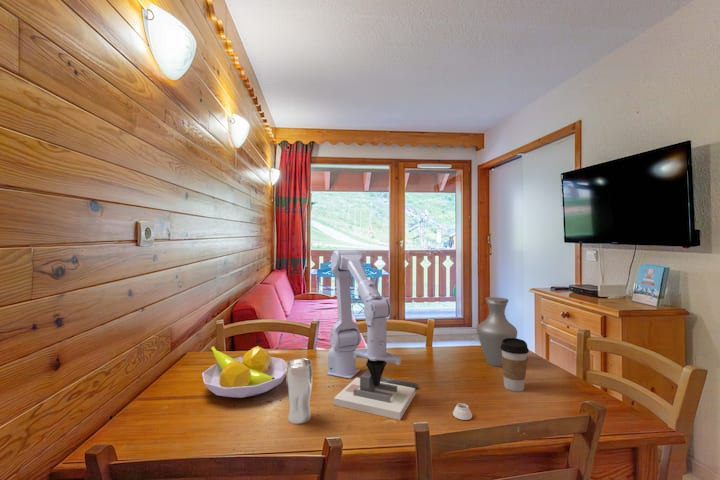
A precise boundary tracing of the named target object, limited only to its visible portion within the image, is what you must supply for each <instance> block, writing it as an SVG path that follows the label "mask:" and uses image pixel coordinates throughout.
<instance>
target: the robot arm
mask: <svg viewBox="0 0 720 480" xmlns="http://www.w3.org/2000/svg"><path fill="white" fill-rule="evenodd" d="M363 257H364V256H363V253H362V252H361V251H360V250H359V249H348V250H347V249H345V250H342V249H341V250H337V249H336V250H334V251H332V254H331V257H330V262H331V264H330V265H331V266H330V268H331V273H332V274H333V275H335V286H336V303H337V321H336V322H335V323H334V324H333V325H332V326H331V329H330V336H329V337H330V338H329V340H330V341H329V342H330V345H331V347H330V348H329V350H328V354H327V372H326V374H327V375H328V376H332V377H333V376H334V377H339V378H345V379H352V378H354V376H356V375H357V374H359V372H360V370H361V369H359V368H357V367H356V360H357V359H365V360H367V361H366V363H365V364H366V365H365V366H366V367H367V369H368V371H370V374H371V376H372V380H373V385H374V386H378V385H379V384H380V380H381V377H383V376H382V375H383V372H384V369H386V368H385V367H386V365H387V364H390V363H391V364H394V365H396V366H400V365H401V363H402V356H399V355H396V354H392V353H390V352H387V318H388V317H389V316H390V314H391V310H392V309H391V304H390V301H389V299H388V298H386V297H384V296H383V295H381V294H380V292H379V290H378V289H377V286H376V284H375V282H374V281H373V280H370V279H369V278H368V276H367V274H366V271H365V268H364V266H363V259H364V258H363ZM351 275H352V277H353V279H354V280H355V283H357V287H356V288H357V289H356V291H357V293H358V295H359V297H360V299H361V300H362V303H363V313H364V317H365V324H366V325H367V326H366V327H367V329H366V331H367V336H366V338H367V341H366V342H367V343H366V344H367V345H366V346H367V348H366V349H367V350H363V349H358V346H360V344H361V341H362V336H361V332H360V328H359V325H358V323H356V322H355V321H354V320H353V315H352V299H351V297H352V296H351V295H352V294H351V281H350V277H351Z"/></svg>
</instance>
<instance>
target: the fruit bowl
mask: <svg viewBox="0 0 720 480" xmlns="http://www.w3.org/2000/svg"><path fill="white" fill-rule="evenodd" d="M210 349H211V350H212V352H213V356H214V358H215V360H216V362H217V363H215V364H213V365H212V366H210V367H209V368H208V369H206V370H205V371H203V372H202V373H201V375H202V379H203V384H204V385H205V386H206V388H207V389H208V390H209V391H210V392H212V393H213V394H214V395H215V396H220V397H224V398H225V397H226V398H241V399H242V398H247V397H253V396H254V397H255V396H260V395H262V394H264V393H267V392H268V391H270V390H272V389H274V388H275V387H277V386H278V385H281V384H282V382H283V381H284V379H285V378H286V374H287V363H288V362H286V361H285V360H284V359H283V358H279V357H273V356H271V355H270V352H269V350H267V349H265V348H263V347H261V346H259V345H257V346H254V347H252V348H251V349H250V350H248V351H247V352H245V353H244V354H243V356H238V357H236V358H235V357H234V358H233V357H232V356H229V355H228V354H226V353H224V352H221V351H219V350H217V349H216V347H215V346H212V347H210Z"/></svg>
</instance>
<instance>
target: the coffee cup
mask: <svg viewBox="0 0 720 480" xmlns="http://www.w3.org/2000/svg"><path fill="white" fill-rule="evenodd" d="M500 348H501V350H502V355H501V356H502V373H503V374H502V375H503V376H502V377H503V385H504V388H505V389H506V390H508V391H513V392H523V391H524V390H525V382H526V373H527V367H528V353H529V352H530V350H529V348H528V344H527V342H526V341H525V340H524V339H520V338H506V339H503V340H502V345H501V347H500Z"/></svg>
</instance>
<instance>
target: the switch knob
mask: <svg viewBox="0 0 720 480" xmlns="http://www.w3.org/2000/svg"><path fill="white" fill-rule="evenodd" d="M359 378H360V390H363V391H368V392H373V390H374V389H375V386H374V385H373V380H372V376H371V374H370V371H369V370H365V371H364V372H363V373H362V374H361V375H360V376H359Z"/></svg>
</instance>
